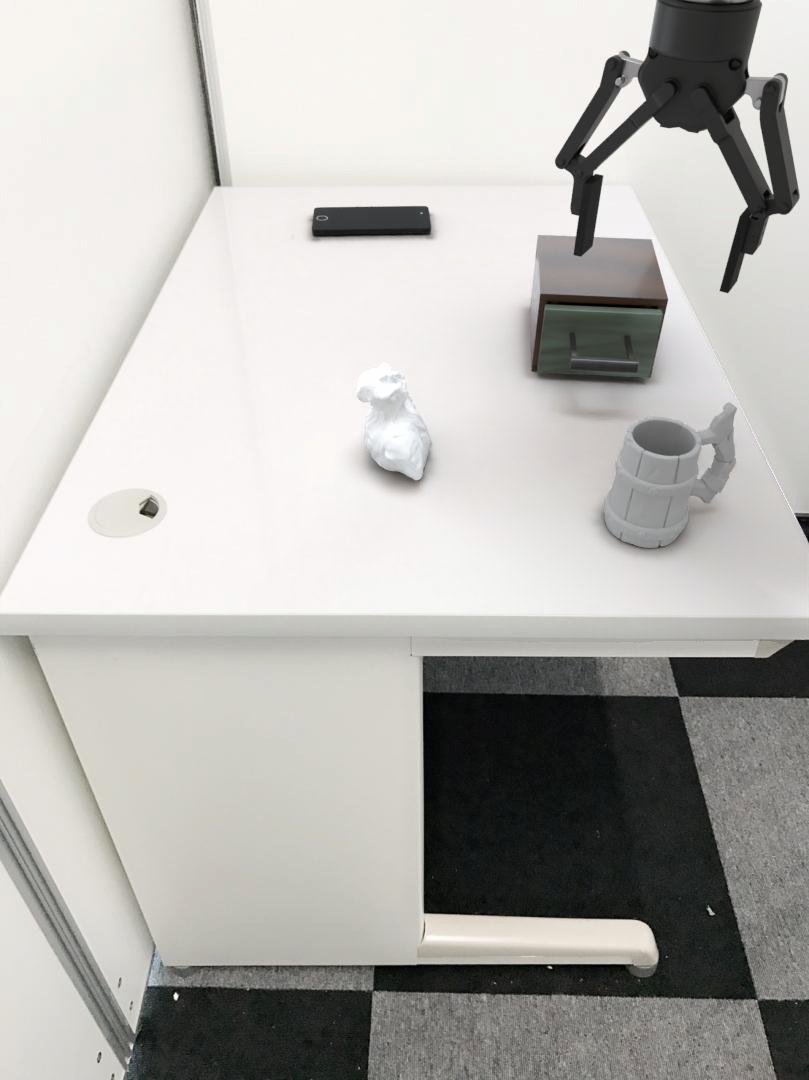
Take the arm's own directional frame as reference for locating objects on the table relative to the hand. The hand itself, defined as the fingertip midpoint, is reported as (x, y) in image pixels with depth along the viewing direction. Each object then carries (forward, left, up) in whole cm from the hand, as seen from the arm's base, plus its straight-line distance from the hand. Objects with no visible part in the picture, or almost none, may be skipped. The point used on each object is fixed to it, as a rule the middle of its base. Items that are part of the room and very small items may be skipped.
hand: (653, 268), depth 77 cm
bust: (-5, +23, -19) cm, 30 cm away
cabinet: (+21, +2, -19) cm, 28 cm away
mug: (-12, -3, -19) cm, 23 cm away
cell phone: (+54, +33, -19) cm, 66 cm away
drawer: (+15, +2, -18) cm, 24 cm away
